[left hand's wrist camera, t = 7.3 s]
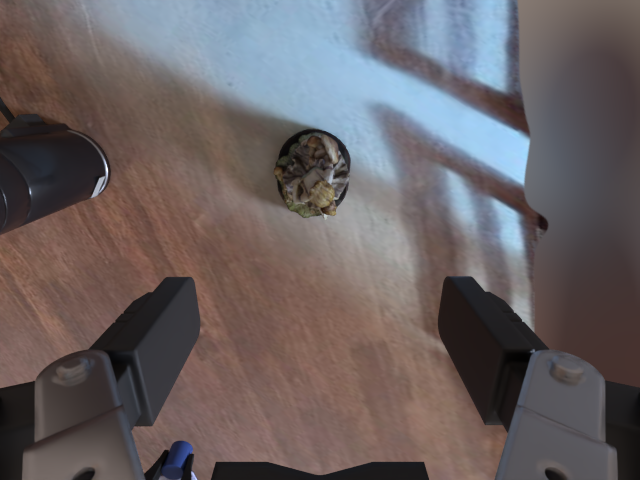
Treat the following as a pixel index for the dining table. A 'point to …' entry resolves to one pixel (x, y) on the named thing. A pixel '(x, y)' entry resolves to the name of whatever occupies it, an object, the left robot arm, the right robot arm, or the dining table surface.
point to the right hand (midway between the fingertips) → (179, 455)
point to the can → (176, 460)
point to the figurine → (313, 173)
